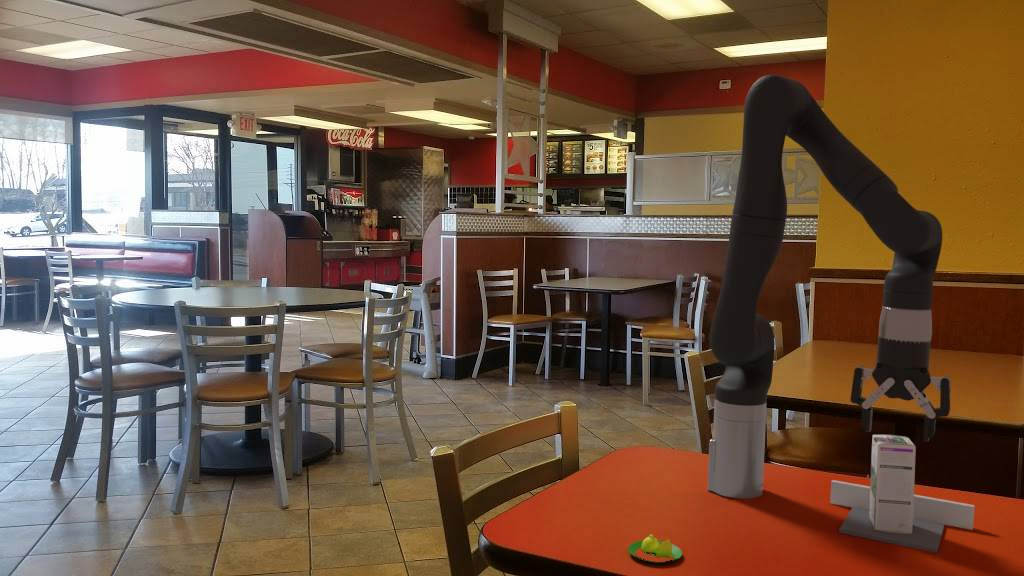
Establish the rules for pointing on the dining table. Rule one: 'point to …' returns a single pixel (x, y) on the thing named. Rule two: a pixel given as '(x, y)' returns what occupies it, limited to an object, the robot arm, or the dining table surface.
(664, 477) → the dining table surface
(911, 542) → the mat
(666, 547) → the green fruit plate
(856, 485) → the low wall
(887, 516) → the syrup box
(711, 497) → the dining table surface
